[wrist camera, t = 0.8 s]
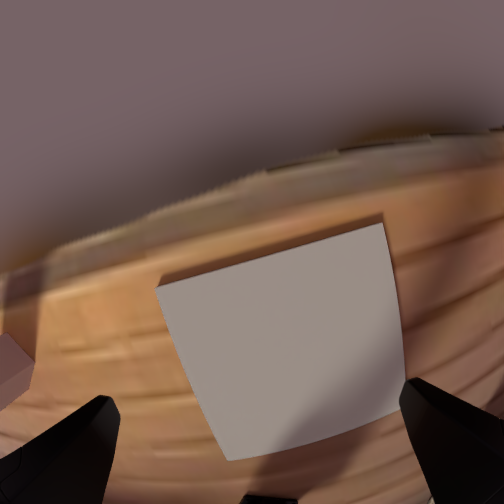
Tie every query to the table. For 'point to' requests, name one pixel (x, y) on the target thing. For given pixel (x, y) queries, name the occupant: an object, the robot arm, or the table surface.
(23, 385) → the rose card box
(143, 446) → the table surface
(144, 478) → the table surface
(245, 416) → the white square plate
